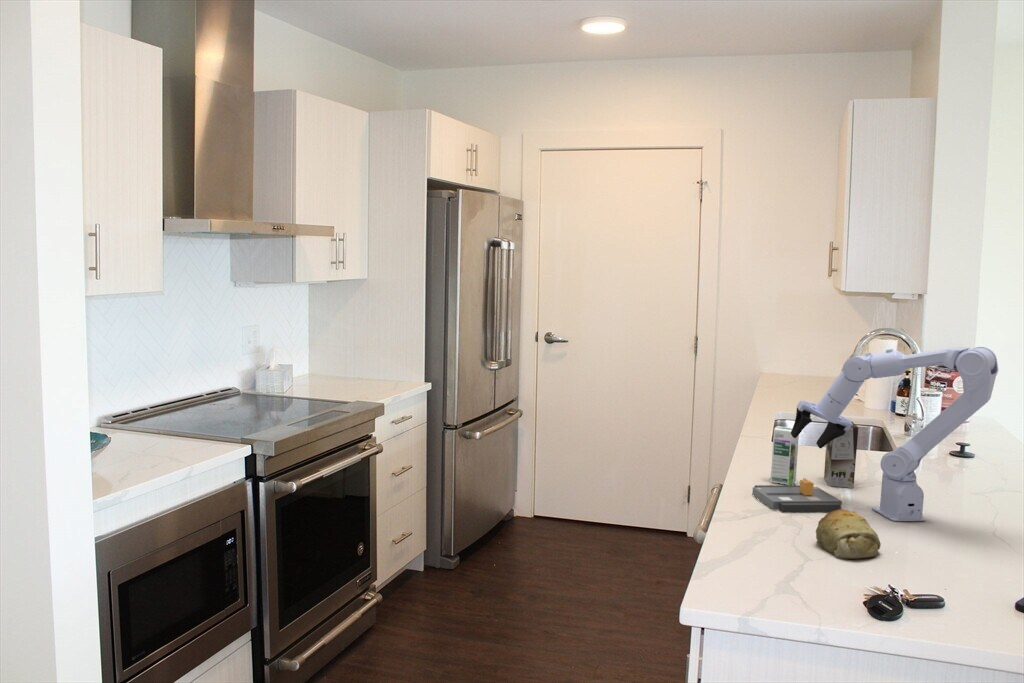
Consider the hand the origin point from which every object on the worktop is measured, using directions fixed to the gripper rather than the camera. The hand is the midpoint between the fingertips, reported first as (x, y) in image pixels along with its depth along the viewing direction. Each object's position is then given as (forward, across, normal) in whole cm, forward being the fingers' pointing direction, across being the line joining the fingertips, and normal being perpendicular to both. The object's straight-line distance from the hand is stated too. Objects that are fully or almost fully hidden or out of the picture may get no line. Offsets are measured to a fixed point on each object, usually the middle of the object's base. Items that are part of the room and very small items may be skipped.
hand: (805, 440), depth 213 cm
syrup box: (+16, -6, -6) cm, 18 cm away
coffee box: (+11, -20, -6) cm, 23 cm away
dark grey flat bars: (+11, 0, +11) cm, 16 cm away
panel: (+11, 0, +11) cm, 16 cm away
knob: (+8, -2, +10) cm, 13 cm away
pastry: (+1, +6, +42) cm, 42 cm away
